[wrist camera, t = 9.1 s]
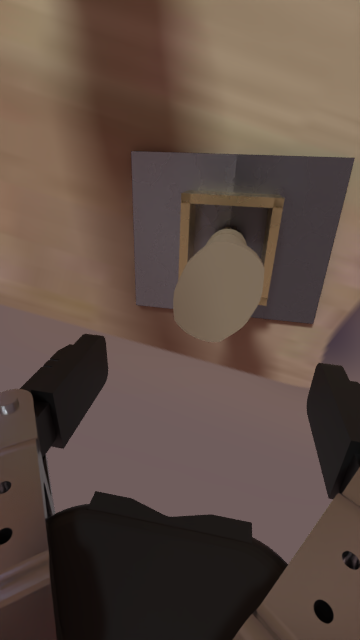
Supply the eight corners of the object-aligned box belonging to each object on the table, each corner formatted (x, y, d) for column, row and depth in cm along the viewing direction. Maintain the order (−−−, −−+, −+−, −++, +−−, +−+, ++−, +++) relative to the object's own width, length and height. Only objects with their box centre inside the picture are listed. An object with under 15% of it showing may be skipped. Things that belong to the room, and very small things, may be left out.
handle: (265, 224, 30) (282, 267, 17) (233, 279, 33) (227, 353, 20) (221, 201, 30) (203, 227, 17) (193, 259, 33) (159, 320, 20)
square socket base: (133, 151, 30) (116, 148, 26) (351, 158, 27) (371, 156, 23) (138, 302, 37) (124, 319, 33) (311, 320, 34) (321, 341, 30)
